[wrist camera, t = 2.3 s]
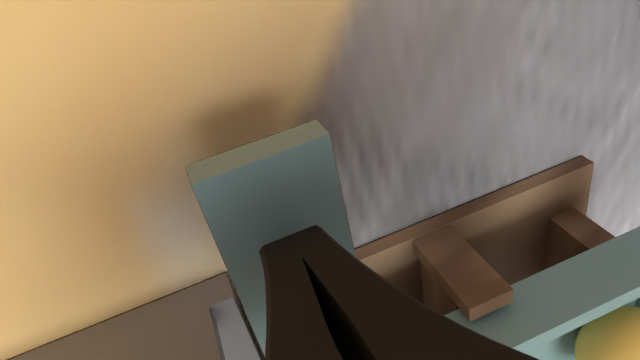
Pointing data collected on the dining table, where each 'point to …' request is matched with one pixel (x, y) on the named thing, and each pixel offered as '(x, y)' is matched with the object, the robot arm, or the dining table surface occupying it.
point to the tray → (165, 330)
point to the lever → (330, 214)
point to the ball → (611, 336)
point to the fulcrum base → (490, 242)
